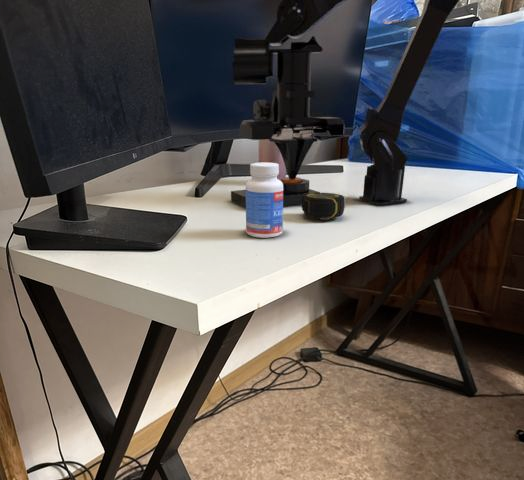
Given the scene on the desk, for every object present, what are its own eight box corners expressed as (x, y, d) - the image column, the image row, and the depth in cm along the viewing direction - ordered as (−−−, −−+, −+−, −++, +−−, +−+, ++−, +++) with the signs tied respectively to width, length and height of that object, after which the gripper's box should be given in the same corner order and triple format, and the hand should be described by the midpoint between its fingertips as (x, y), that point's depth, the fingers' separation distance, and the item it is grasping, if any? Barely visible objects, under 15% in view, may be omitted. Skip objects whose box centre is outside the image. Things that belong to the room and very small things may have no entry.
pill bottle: (279, 239, 73) (280, 167, 68) (243, 237, 74) (241, 166, 69) (285, 229, 77) (286, 161, 73) (250, 228, 78) (249, 161, 74)
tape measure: (340, 213, 87) (342, 190, 85) (345, 222, 81) (347, 198, 79) (300, 213, 87) (301, 190, 85) (302, 222, 81) (303, 198, 79)
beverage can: (257, 181, 115) (257, 107, 108) (283, 180, 116) (284, 107, 109) (260, 185, 110) (259, 109, 103) (287, 185, 111) (289, 108, 104)
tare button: (295, 185, 98) (295, 176, 97) (304, 188, 95) (305, 179, 94) (278, 187, 96) (278, 177, 96) (288, 190, 93) (288, 180, 93)
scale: (295, 194, 102) (295, 176, 100) (319, 202, 95) (320, 183, 93) (231, 201, 96) (230, 182, 94) (252, 210, 89) (251, 190, 87)
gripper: (314, 83, 98) (311, 169, 105) (225, 84, 90) (228, 176, 97) (349, 83, 89) (343, 176, 96) (252, 84, 81) (254, 185, 89)
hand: (292, 178), depth 95 cm, fingers closed, pressing on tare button
